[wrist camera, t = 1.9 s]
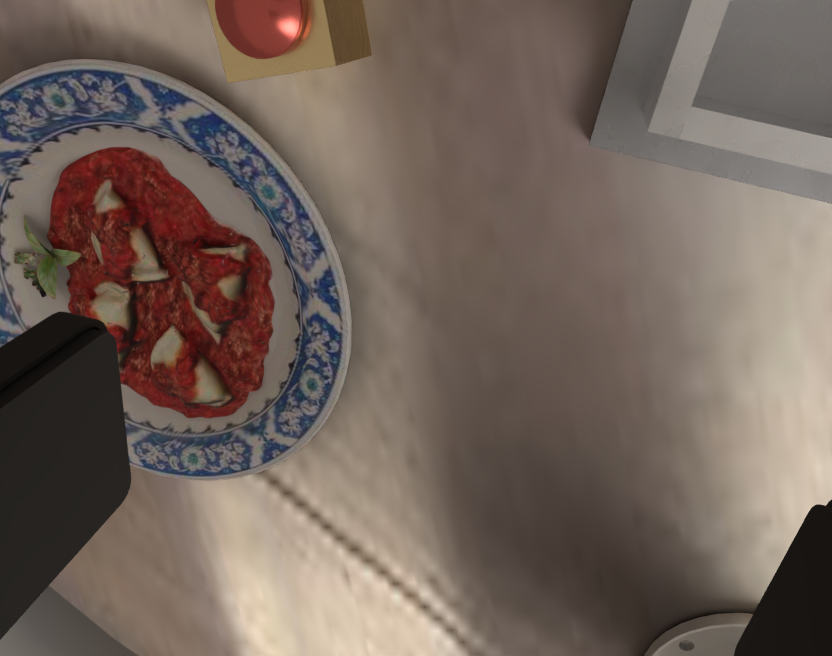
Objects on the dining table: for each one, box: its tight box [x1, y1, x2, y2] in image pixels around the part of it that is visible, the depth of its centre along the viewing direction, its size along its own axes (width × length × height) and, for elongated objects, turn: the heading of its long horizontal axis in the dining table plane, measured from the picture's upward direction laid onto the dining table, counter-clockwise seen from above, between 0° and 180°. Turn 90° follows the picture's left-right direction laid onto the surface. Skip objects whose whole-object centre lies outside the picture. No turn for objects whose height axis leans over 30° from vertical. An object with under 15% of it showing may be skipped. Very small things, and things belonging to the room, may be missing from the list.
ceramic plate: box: [0, 59, 352, 481], centre depth 40 cm, size 26×26×3 cm
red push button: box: [207, 0, 372, 83], centre depth 29 cm, size 5×5×6 cm
